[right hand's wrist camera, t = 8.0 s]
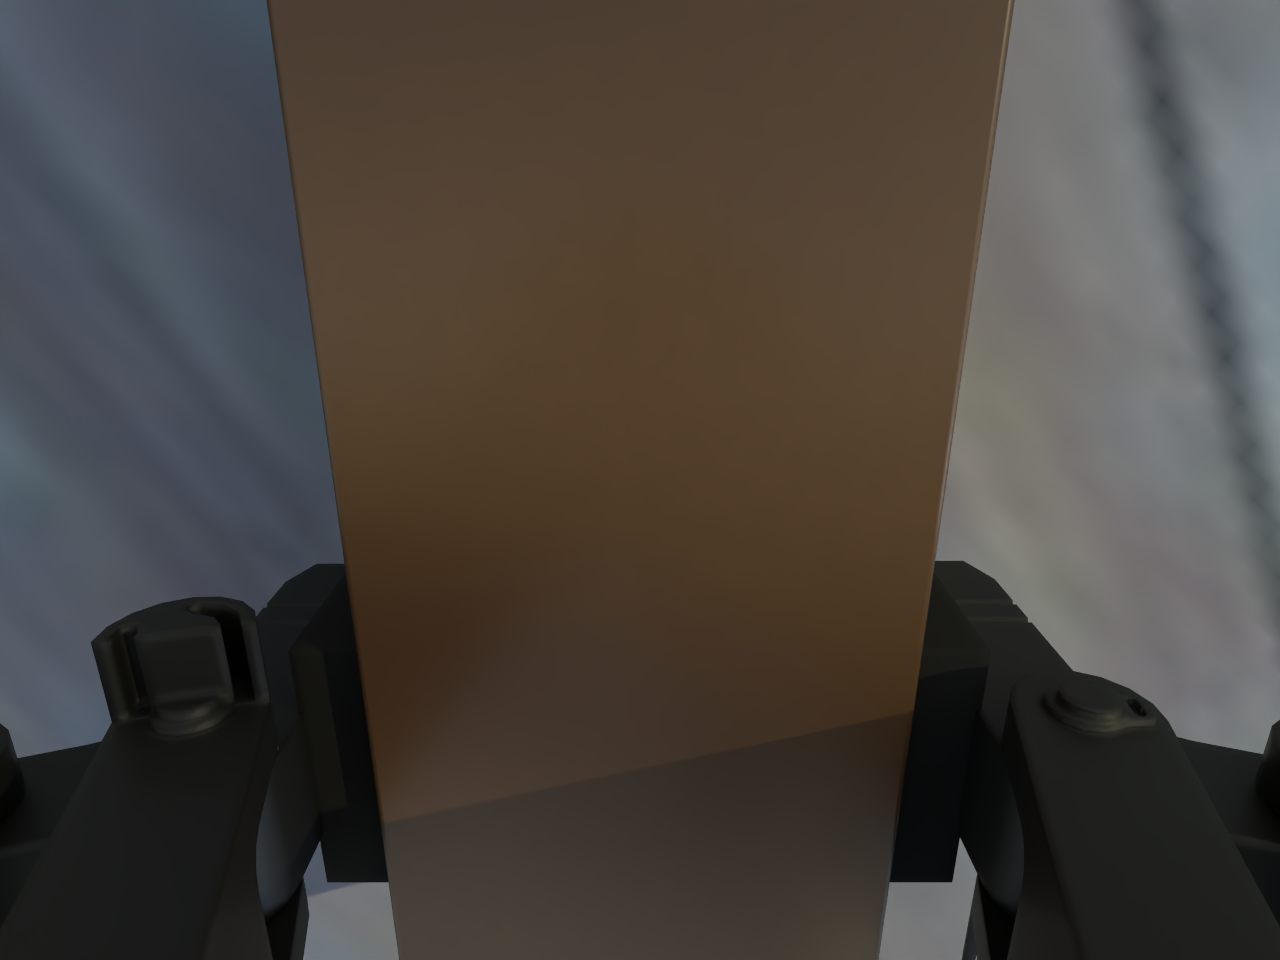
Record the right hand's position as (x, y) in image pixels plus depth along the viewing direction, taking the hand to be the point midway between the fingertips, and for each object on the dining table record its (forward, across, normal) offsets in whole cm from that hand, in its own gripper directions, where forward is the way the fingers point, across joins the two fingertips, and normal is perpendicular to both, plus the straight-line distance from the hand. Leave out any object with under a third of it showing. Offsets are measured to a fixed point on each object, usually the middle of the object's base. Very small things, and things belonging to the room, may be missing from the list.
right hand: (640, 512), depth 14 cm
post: (0, 0, -20) cm, 20 cm away
